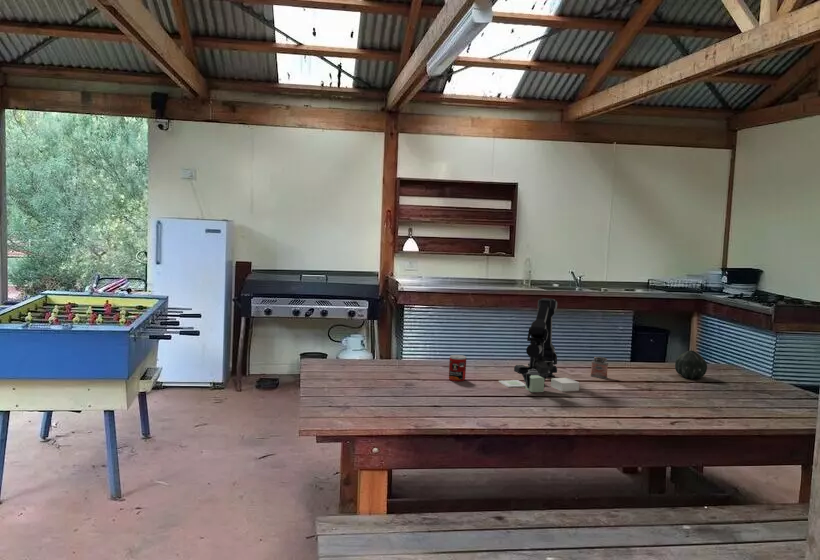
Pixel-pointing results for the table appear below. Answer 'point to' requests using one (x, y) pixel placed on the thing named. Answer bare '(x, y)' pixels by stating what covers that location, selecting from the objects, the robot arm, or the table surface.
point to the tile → (512, 383)
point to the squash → (691, 365)
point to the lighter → (599, 367)
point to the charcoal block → (534, 373)
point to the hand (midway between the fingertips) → (534, 387)
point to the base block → (565, 384)
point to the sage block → (536, 384)
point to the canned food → (457, 368)
